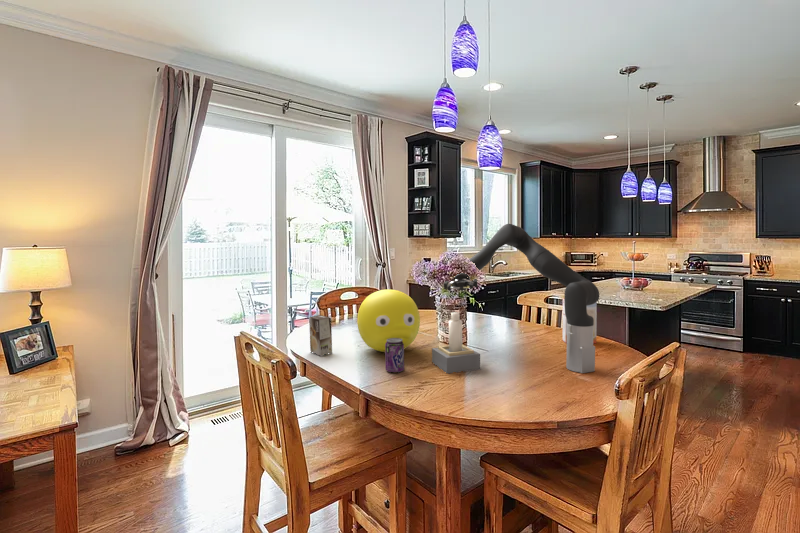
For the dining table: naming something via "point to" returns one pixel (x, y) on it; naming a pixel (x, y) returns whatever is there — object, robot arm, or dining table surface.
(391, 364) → the beverage can
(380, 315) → the head sculpture
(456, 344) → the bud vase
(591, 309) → the cracker box
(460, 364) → the display riser
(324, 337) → the coffee box
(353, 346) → the dining table surface
